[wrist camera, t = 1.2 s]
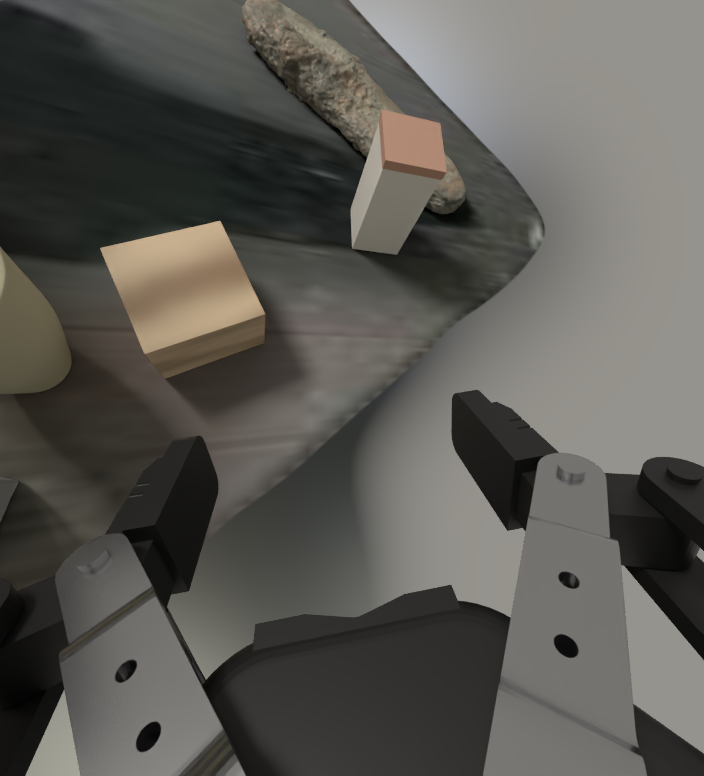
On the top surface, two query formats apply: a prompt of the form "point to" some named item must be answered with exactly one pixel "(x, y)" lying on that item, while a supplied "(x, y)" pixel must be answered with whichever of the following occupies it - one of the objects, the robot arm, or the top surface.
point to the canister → (396, 181)
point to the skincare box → (6, 493)
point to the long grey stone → (331, 83)
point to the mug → (28, 335)
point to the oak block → (186, 297)
